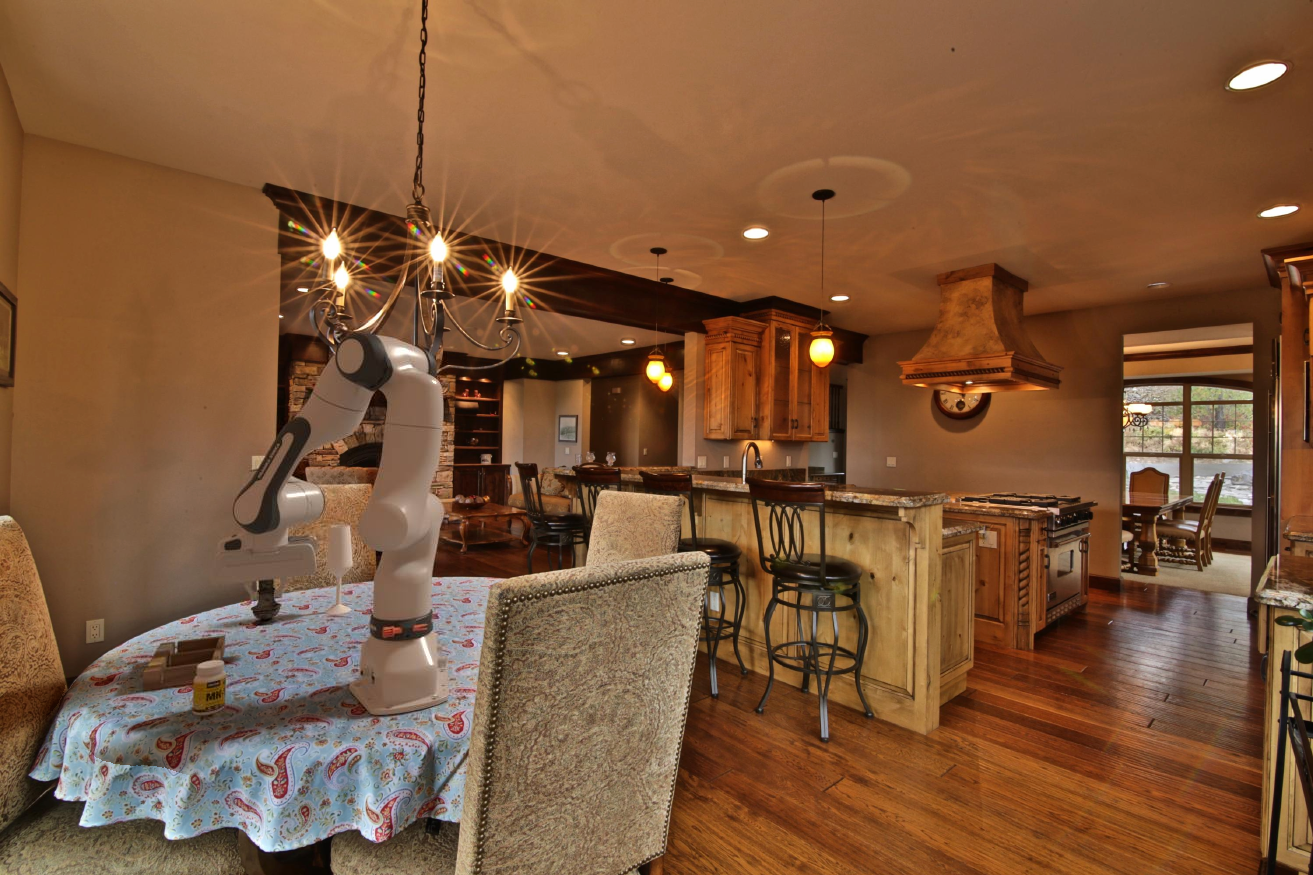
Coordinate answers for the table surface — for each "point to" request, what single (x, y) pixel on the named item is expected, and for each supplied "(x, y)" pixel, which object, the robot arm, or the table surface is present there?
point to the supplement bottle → (209, 688)
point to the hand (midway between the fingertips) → (266, 599)
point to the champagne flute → (339, 561)
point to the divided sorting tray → (181, 661)
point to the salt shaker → (266, 604)
